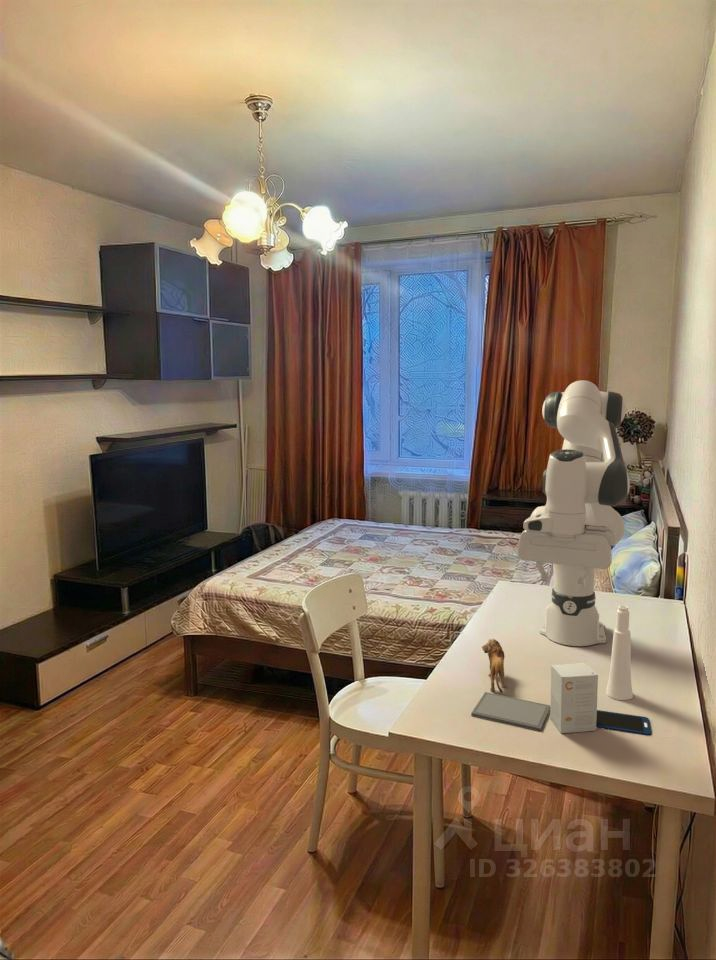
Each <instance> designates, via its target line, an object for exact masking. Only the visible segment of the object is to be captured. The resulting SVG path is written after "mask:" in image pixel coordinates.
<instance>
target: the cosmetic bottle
mask: <svg viewBox="0 0 716 960" xmlns="http://www.w3.org/2000/svg"><path fill="white" fill-rule="evenodd" d="M617 608H618V609H617V610H616V619H615V628H614V629H613V637H612V646H611V658H610V668H609V673H608V674H609V675H608V680H607V686H606V689H605V693H606V695H607V696H608V697H610V698H611V699H615V700H618V701H629V700H631V699H632V698H633V696H634V692H633V684H632V673H631V672H632V670H631V667H632V666H631V665H632V664H631V660H632V659H631V658H632V657H631V656H632V655H631V654H632V653H631V649H632V648H631V646H632V645H631V643H632V642H631V641H632V639H631V631H630V630H629V627H630V610H629V607H628V606H627V605H618V606H617Z"/></svg>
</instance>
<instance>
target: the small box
mask: <svg viewBox="0 0 716 960" xmlns="http://www.w3.org/2000/svg"><path fill="white" fill-rule="evenodd" d="M598 684H599V674H598V673H597V672H596V671H595V670H594V669H593V668H592V667H590V666H589V664H587V662H577V663H565V664H551V669H550V704H549V705H550V711H549V713H550V714H549V717H550V718H549V719H550V721H551V722H552V723H553V725H554V726H555V728H556V729H557V730H558V732H560V734H570V733H582V732H583V733H584V732H592V731H593V732H594V731H595V732H596V731H597V728H596V720H597V710H598V686H599V685H598Z"/></svg>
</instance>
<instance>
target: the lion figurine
mask: <svg viewBox="0 0 716 960" xmlns="http://www.w3.org/2000/svg"><path fill="white" fill-rule="evenodd" d="M481 649H482V651H483V653H484V654H487V656H488V660H489V674H488V675H487V676H488V677H489V676H490V686H491V687H490V688H489V689H490V692H495V691H496V687H495V683H496V686H497V689H498V692H499V693H500V694H504V691H503V690H502V688H501V687H503V688H506V687H507V684H506V683H505V666H504V662H505V661H504V660H505V651H504V649H503V648H502V646H501V644H500V642H499V641H498V640H496V639H495V638H489V639H488V642H487V643H485V644H484V645H482V646H481ZM499 677H500V684H501V686H500V684H499Z"/></svg>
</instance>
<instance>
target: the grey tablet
mask: <svg viewBox="0 0 716 960" xmlns="http://www.w3.org/2000/svg"><path fill="white" fill-rule="evenodd" d="M550 705H551V704H545V703H541V702H535V701H532V700H531V701H530V700H526V699H522V698H521V699H520V698H516V697H510V696H506V695H501V694H496V693H493V692H487V691H485V692H484V693H483V695H482V696H481V698H480V699H479V700H478V703H477V704H476V705H475V707H474V708H473V710H471V714H470V715H471V716H472V717H476V718H482V719H484V720H485V719H486V720H490V721H493V722H500V723H503V724H508V725H513V726H516V727H520V726H521V727H522V728H525V727H526V728H525V729H529V730H535V731H538V730H539V731H538V732H541V731H542V728H543V727H544V724H545V722H546V720H547V717H548V716H549V713H550ZM521 727H520V728H521ZM530 728H531V729H530Z"/></svg>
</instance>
